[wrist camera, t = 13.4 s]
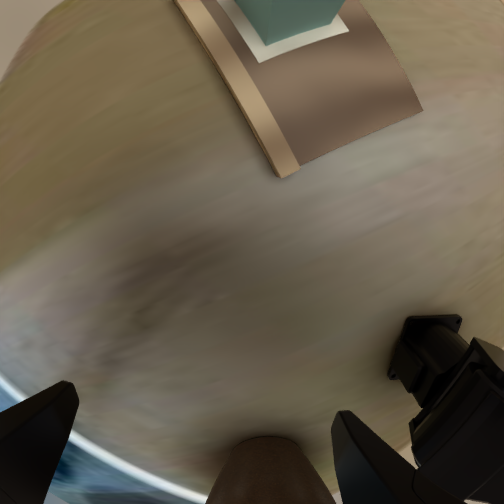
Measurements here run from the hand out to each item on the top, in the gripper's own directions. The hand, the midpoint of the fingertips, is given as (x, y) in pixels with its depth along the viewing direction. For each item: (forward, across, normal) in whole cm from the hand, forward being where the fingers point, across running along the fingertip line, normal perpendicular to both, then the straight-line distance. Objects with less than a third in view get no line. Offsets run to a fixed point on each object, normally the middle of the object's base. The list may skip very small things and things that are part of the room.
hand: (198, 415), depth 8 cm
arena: (+13, -4, -17) cm, 22 cm away
